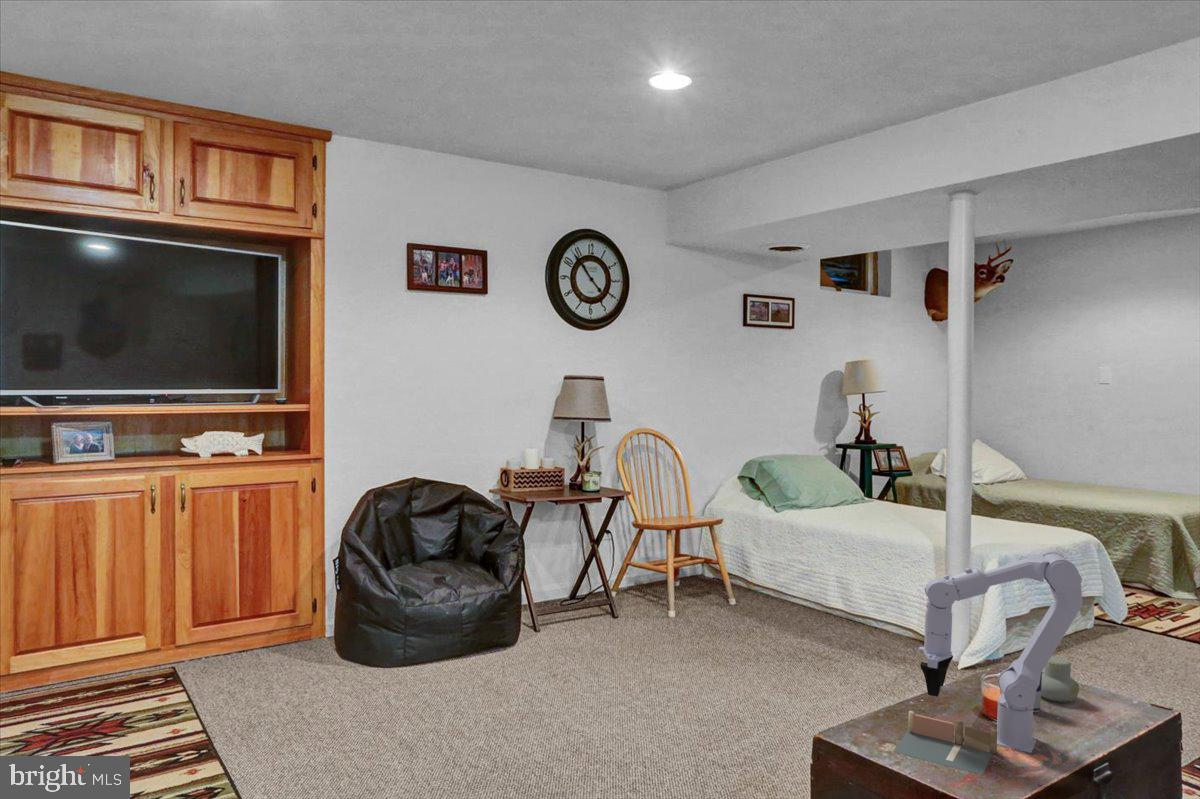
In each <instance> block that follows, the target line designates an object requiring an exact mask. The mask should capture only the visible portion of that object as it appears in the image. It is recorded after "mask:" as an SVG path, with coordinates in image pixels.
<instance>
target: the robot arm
mask: <svg viewBox="0 0 1200 799" xmlns="http://www.w3.org/2000/svg"><path fill="white" fill-rule="evenodd" d="M1022 579H1032V580H1033V581H1037V582H1041V583H1045V582H1044V581H1046V582H1047V584H1048V585H1049V589H1050V591H1051V593H1052V596H1053V601H1052V603H1051V605H1050V606H1049V608H1048V609H1047V611H1046V612H1045V615H1044V616H1043V617H1042V620H1041V621H1040V623H1039V625H1038V626H1037V627H1036V629H1035V631H1034V633H1033V634H1032V636H1031V637H1030V640H1029V641H1028V642H1027V644H1026V646H1025V647H1024V649H1023V650H1022V652H1021V653H1020V656H1019V657H1018V658H1017V659H1015V660H1013V661H1012V662H1011V664H1010V665H1009V667H1007V669H1004V670H1002V671H1001V672H1000V673H999V674H998V676H997V685H998V688H999V690H1000V691H1001V694H1000V696H999V697H998V698H997V715H996V716H997V720H996V731H997V746H1000V747H1004V748H1008V749H1013V750H1017V751H1020V752H1024V753H1029V754H1031V753H1033V750H1034V747H1035V745H1036V742H1037V739H1038V738H1037V736H1036V737H1035V736H1033V727H1034V713H1033V708H1034V705H1033V704H1034V702H1035V699H1036V690H1037V688H1038V686H1039V684H1040V676H1041V672H1042V673H1043V670H1045V666H1046V664H1047V663H1048V661H1049V659H1050V658H1051V657H1053V654H1054V652H1055V651H1056V650H1057V648H1058V646H1059V645H1060V644H1061V642H1062V640H1063V638H1064V636H1065V635H1066V633H1067V632H1068V630H1069V629H1070V626H1071V625H1072V623H1073V622H1074V620H1075V619H1076V617H1077V616H1078V613H1079V612H1080V610H1081V609H1082V606H1083V593H1082V581H1083V578H1082V576H1081V574H1080V572H1079V570H1078V568H1077V566H1075V564H1074V563H1072V562H1071V561H1070V560H1068V559H1067V558H1066V557H1065V556H1064V555H1062V554H1061V553H1059V552H1056V551H1049V552H1046V553H1043V554H1035V555H1032V556H1029V557H1026V558H1024V559H1023V558H1022V559H1020V560H1016V561H1014V562H1011V563H1008V564H1005V565H1004V564H1003V565H1002V566H1000V567H996V568H993V569H989V570H988V571H982V570H980V569H978V568H974V569H971V567H967V568H964V571H963V572H959V573H956V574H952V575H949V574H944V575H943V578H941V577H935V578H932V579H930V580H929V581H928V582H927V584H926V585H925V587H924V593H925V595H926V597H927V600H926V604H925V605H926V609H925V616H924V617H925V618H924V619H925V620H924V622H925V623H924V640H923V641H924V644H923V645H924V646H919V647H918V652H920V653H923V654H924V656H925V657H926V659H927V662H924V661H921V662H920V669H921V671H922V673H923V676H924V681H925V685H926V690H927V695H928V696H932V697H937V698H938V697H939V695H940V692H941V688H942V687H943V686H944V684H945V682H946V681H945V680H946V676H947V672H948V669H949V666H950V663H951V662H952V660H953V658H954V655H953V652H952V635H953V634H952V632H953V631H952V628H953V611H952V608H953V604H954V603H955V601H958V602H959V601H960V602H961V601H963V600H967V599H970V598H974V597H977V596H980V595H986V594H987V592H988V591H989V589H990V588H991V587H992V586H997V585H1000V584H1005V583H1009V582H1014V581H1019V580H1022Z"/></svg>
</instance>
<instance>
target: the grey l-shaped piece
mask: <svg viewBox="0 0 1200 799" xmlns="http://www.w3.org/2000/svg"><path fill="white" fill-rule="evenodd" d="M1071 664H1072V663H1071V661H1069V659H1066V658H1062V657H1057V656H1051V658H1050V659H1049V661H1048V663H1047V664H1046V666H1045V667H1044V669H1043V670H1044V672H1042V685H1041V697H1043V698H1044V697H1045V699H1046V698H1047V699H1046V700H1049V699H1050V700H1049V701H1052V700H1054V701H1053V702H1056V701H1060V702H1059V703H1063V702H1067V703H1070V702H1073V701H1075V700H1076V699H1077V698H1078V695H1079V692H1080V684H1079V683H1078V682H1077V681H1076V680H1075V679H1074V678H1072V677H1071V669H1072V665H1071ZM1069 701H1070V702H1069Z"/></svg>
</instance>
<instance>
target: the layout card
mask: <svg viewBox="0 0 1200 799" xmlns="http://www.w3.org/2000/svg"><path fill="white" fill-rule="evenodd" d="M892 753H896V754H900V755H904V756H907V757H908V756H909V757H912V758H915V759H919V760H923V761H927V762H930V763H935V764H938V765H941V766H945V767H948V768H949V767H950V768H954V769H958V770H962V771H964V772H968V773H973V774H976V775H977V774H978V775H980V776H983V775H984V773H985V770H986V769H987V766H988V765H989V763H990V760H991V759H992V756H993V754H992V753H990V752H986V751H982V750H978V749H973V748H969V747H965V746H964V741H963V745H962V746H958V745H956V744H955V738H953V742H951V741H946V740H942V739H938V738H934V737H930V736H926V735H922V734H918V733H914V732H909V731H908V730H907V732H906V733H905V735H904V736H903V737H902V739H901V740H900V742H899V743H898V744H897V745H896V746H895V748H894V749H893V750H892Z"/></svg>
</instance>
